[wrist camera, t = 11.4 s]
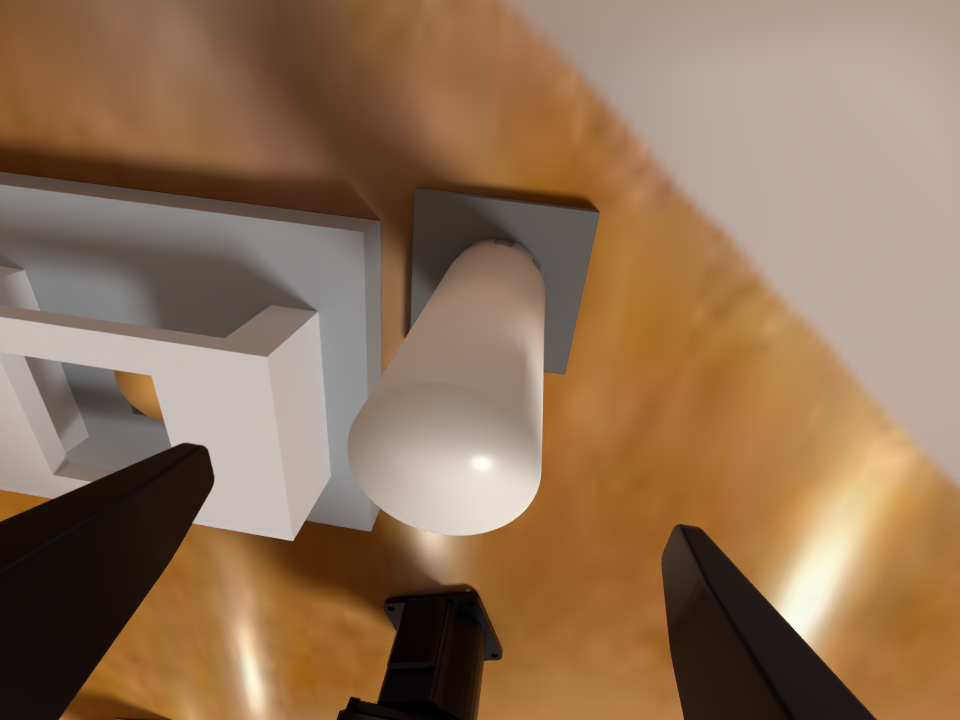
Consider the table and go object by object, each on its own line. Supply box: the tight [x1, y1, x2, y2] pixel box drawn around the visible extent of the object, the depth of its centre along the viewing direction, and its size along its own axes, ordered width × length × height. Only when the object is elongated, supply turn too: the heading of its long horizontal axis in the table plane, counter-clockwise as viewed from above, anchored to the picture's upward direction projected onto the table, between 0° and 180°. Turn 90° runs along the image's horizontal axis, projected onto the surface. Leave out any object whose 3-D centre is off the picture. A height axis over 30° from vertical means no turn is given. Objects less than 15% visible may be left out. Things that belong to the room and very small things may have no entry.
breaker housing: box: [0, 172, 381, 541], centre depth 21 cm, size 16×19×6 cm
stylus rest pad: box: [411, 187, 599, 375], centre depth 19 cm, size 7×7×1 cm
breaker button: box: [114, 370, 164, 422], centre depth 22 cm, size 4×4×2 cm
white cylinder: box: [347, 237, 545, 536], centre depth 14 cm, size 4×4×11 cm
